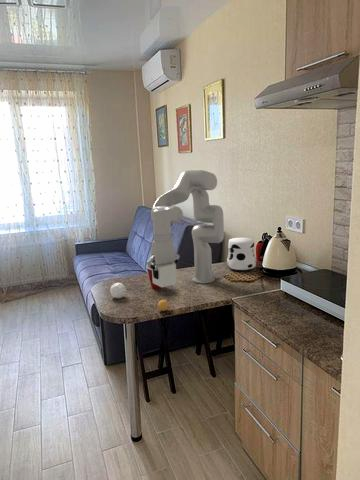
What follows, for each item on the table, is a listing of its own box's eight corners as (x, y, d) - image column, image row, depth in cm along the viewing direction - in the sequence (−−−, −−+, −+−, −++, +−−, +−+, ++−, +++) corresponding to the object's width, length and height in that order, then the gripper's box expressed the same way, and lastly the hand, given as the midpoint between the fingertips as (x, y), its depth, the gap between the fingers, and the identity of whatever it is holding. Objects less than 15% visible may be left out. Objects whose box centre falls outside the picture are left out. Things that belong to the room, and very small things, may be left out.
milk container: (261, 268, 225) (261, 239, 221) (244, 274, 213) (244, 244, 210) (238, 263, 237) (238, 235, 233) (221, 269, 226) (220, 240, 222)
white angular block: (167, 279, 168) (166, 260, 166) (176, 283, 162) (175, 264, 160) (152, 282, 164) (151, 264, 162) (161, 287, 158) (160, 267, 156)
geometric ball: (121, 301, 188) (130, 287, 189) (117, 301, 180) (126, 287, 181) (109, 293, 189) (118, 280, 190) (105, 293, 181) (113, 279, 182)
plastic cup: (164, 291, 192) (163, 269, 189) (144, 290, 194) (143, 268, 192) (169, 284, 202) (168, 263, 200) (150, 283, 205) (149, 263, 202)
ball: (171, 305, 165) (168, 311, 168) (166, 296, 168) (164, 303, 171) (162, 307, 163) (159, 314, 166) (157, 299, 165) (154, 305, 169)
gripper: (174, 233, 166) (176, 270, 170) (140, 239, 157) (142, 278, 160) (183, 235, 160) (185, 274, 164) (149, 242, 150) (151, 282, 154)
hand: (164, 276), depth 162 cm, fingers closed on white angular block, 7 cm apart
